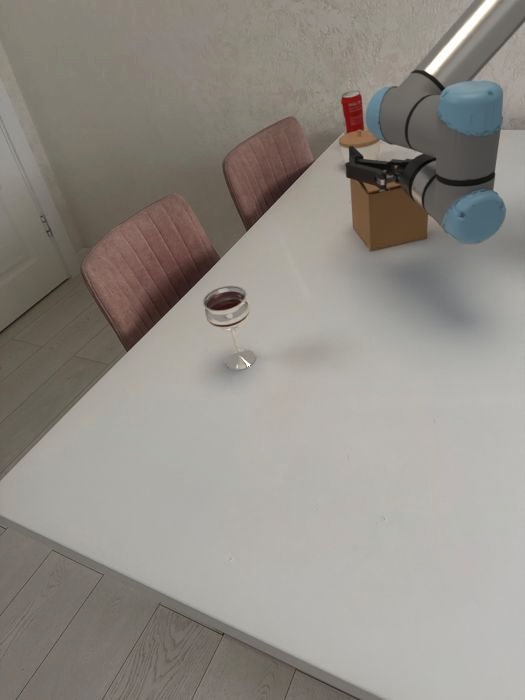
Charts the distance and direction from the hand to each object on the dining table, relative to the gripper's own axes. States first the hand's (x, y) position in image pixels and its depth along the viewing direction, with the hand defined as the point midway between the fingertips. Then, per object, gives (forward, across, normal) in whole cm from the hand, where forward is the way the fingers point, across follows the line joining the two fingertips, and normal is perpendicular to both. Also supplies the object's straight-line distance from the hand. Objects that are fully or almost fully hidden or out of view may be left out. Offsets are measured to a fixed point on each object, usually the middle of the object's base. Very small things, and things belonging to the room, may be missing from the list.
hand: (385, 145), depth 95 cm
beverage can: (+54, +10, -18) cm, 58 cm away
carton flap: (-4, 0, -5) cm, 6 cm away
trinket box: (+38, +7, -18) cm, 43 cm away
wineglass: (-32, -36, -18) cm, 51 cm away
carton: (-1, 0, -18) cm, 18 cm away
